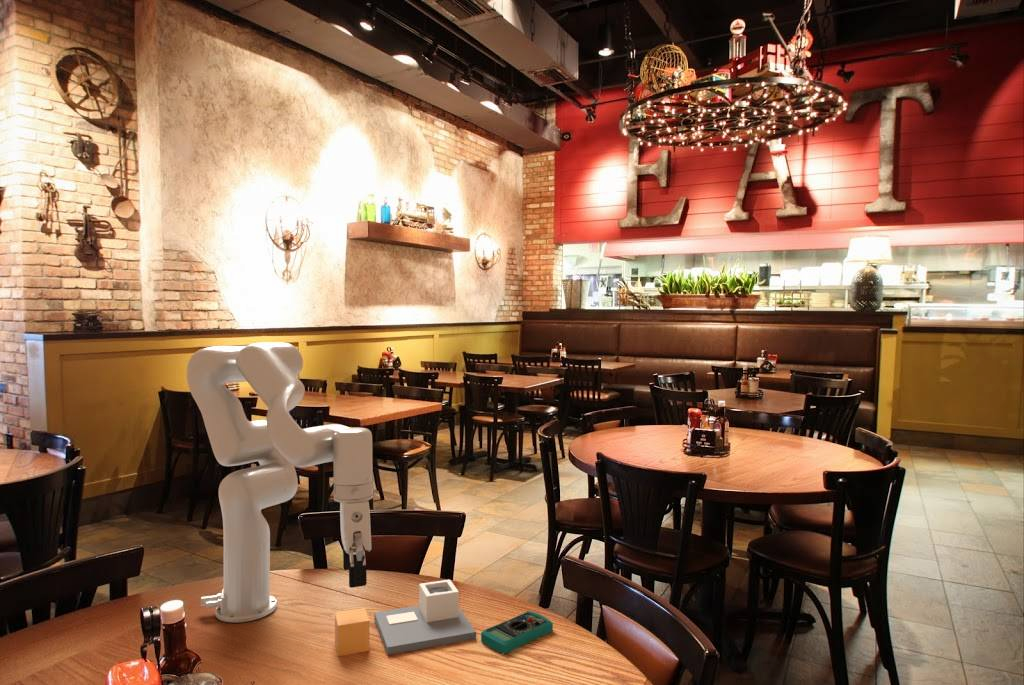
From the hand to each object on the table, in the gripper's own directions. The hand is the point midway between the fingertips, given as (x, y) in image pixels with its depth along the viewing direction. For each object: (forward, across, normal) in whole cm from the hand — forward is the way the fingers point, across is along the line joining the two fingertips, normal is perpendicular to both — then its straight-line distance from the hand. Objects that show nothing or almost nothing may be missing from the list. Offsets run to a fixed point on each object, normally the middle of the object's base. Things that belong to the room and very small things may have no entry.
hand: (354, 577), depth 122 cm
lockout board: (+14, +3, -14) cm, 20 cm away
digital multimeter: (+15, -7, -32) cm, 36 cm away
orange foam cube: (+14, +1, +1) cm, 14 cm away
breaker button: (+12, +6, -18) cm, 23 cm away
